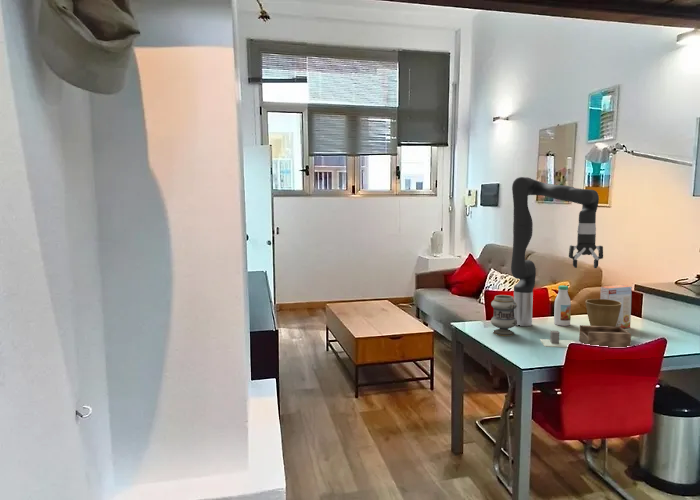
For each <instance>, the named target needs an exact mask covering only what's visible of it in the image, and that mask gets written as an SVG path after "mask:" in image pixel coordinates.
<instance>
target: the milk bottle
mask: <svg viewBox="0 0 700 500" xmlns="http://www.w3.org/2000/svg"><path fill="white" fill-rule="evenodd" d="M568 292H569V286H568V285H563V284H562V285H558V293H557V295H556V297H555V299H554V306H553V307H554V311H553V312H554V314H553V315H554V316H553V323H554V325H556V326H561V327H562V326H563V327H565V326H570V325H571V316H572V315H571V312H572V309H571V308H572V302H571V298H570V296H569V293H568Z"/></svg>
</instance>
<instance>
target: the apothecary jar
mask: <svg viewBox="0 0 700 500" xmlns="http://www.w3.org/2000/svg"><path fill="white" fill-rule="evenodd" d="M490 305H491V307H492V308H493V316H492V317H491V319H490V323H491V325H492V326H494V328H497V329H494V330H493V331H494V332H493V331H492V334H495V335H496V334H497V335H496V336H502V337H511V336H514V335H515V332H514V331H513V330H511V329H512V328H515V327H516V326H518V325H517V320H516V319H515V318H514V309H515V308H516V307H517V303H516V302H515V301H514V295H507V294H498V295H495V296H494V299H493V300H492V301H491V302H490Z"/></svg>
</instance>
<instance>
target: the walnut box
mask: <svg viewBox="0 0 700 500" xmlns="http://www.w3.org/2000/svg"><path fill="white" fill-rule="evenodd" d="M578 334H579V337H578V339H579V340H578V341H579V342H580V343H581V344H582V343H584V344H590V345H599V346H608V347H627V346H631V345H632V344H631V343H632V334H631V333H630V332H629V331H627V330H626V329H625V328H621V327H617V326H591V325H584V324H583V325H581V324H580V325H579V333H578Z"/></svg>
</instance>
